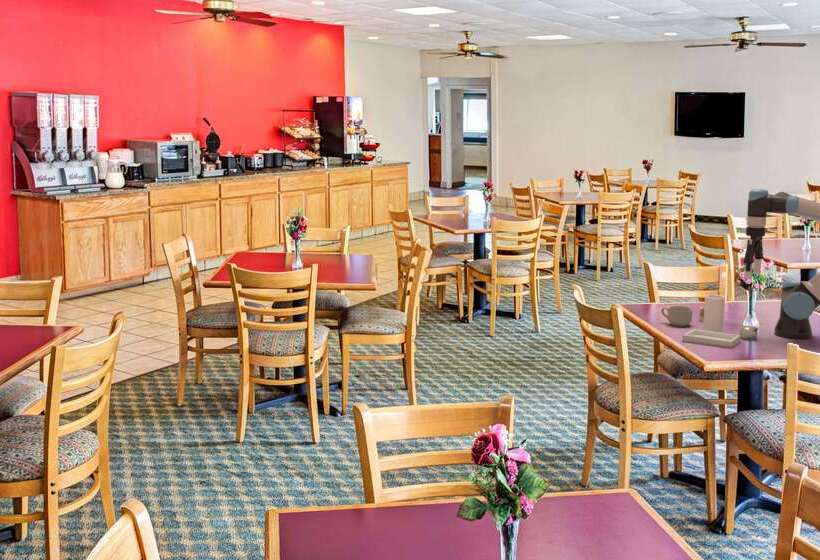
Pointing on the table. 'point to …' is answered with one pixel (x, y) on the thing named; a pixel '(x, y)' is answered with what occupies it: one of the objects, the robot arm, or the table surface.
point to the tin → (748, 332)
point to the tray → (711, 338)
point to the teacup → (678, 315)
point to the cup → (713, 313)
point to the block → (701, 314)
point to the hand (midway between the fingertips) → (752, 276)
